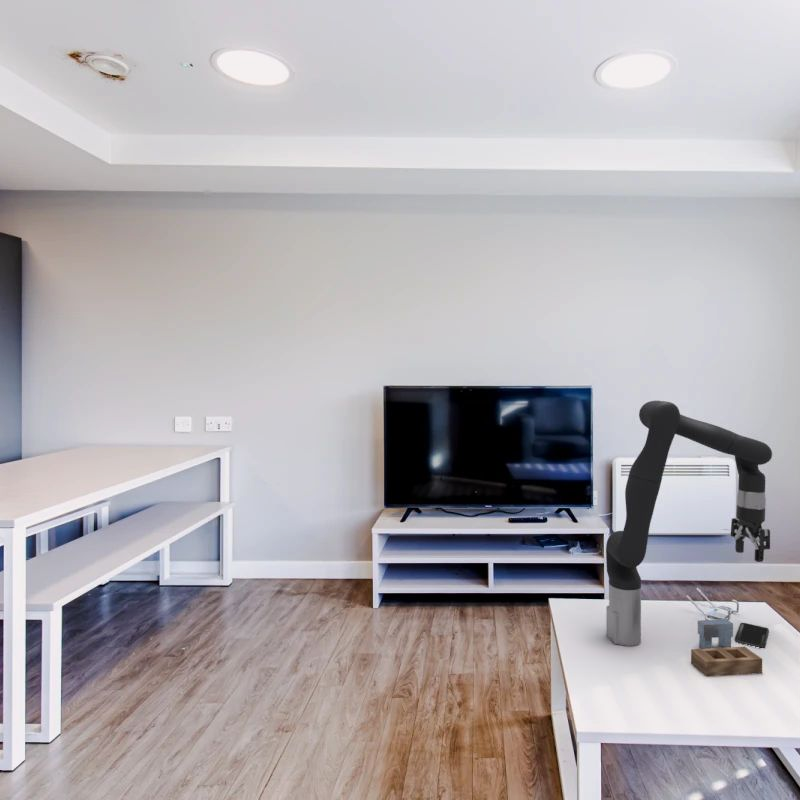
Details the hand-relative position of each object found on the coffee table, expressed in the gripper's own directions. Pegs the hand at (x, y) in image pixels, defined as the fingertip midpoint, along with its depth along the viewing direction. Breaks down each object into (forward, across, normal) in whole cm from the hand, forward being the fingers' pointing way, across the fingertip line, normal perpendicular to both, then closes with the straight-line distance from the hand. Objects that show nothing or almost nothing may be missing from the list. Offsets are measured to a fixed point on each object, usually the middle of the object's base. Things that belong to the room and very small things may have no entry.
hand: (748, 556), depth 174 cm
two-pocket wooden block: (+26, +17, -18) cm, 36 cm away
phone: (+26, 0, +2) cm, 26 cm away
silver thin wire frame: (+26, -17, 0) cm, 31 cm away
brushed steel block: (+26, +6, -14) cm, 30 cm away
